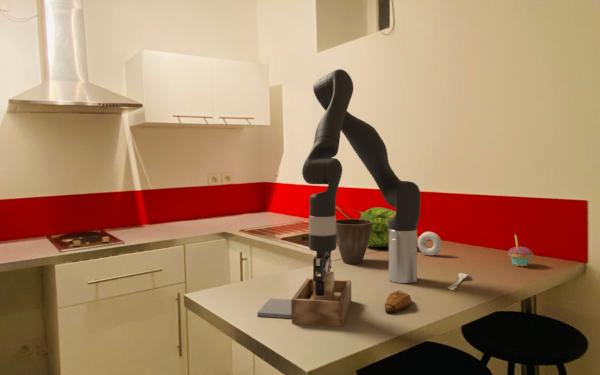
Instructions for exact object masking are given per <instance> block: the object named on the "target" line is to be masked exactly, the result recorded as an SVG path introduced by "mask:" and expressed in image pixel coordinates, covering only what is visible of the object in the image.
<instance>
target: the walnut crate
mask: <svg viewBox="0 0 600 375" xmlns="http://www.w3.org/2000/svg"><path fill="white" fill-rule="evenodd" d="M290 300H291V311H292V317H291V324H302V325H303V324H305V325H317V326H332V327H334V326H335V327H344V324H345V321H346V318H347V315H348V312H349V310H350V306H351V303H352V280H349V279H348V280H347V279H334V299H333V301H329V300H313V278H306V280H305V281H304V282H303V283H302V284H301V286H300V287H299V289H298V290H297V292H296V293H294V295H293V297H292V298H291V299H290Z"/></svg>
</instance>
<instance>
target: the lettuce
mask: <svg viewBox="0 0 600 375" xmlns="http://www.w3.org/2000/svg"><path fill="white" fill-rule="evenodd" d="M395 215H396V210H393V209H389V208H385V207H381V206H379V207H376V206H375V207H371V208H369V209H367V210H365V211H364V212H363V213H362V214H361V216H360V218H359V219H362V220H369V221H371V222H372V227H371V233H370V238H369V242H368V246H370V247H373V248H389V221H390V220H391V219H393V218H394V217H395Z"/></svg>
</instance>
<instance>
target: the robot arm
mask: <svg viewBox="0 0 600 375" xmlns="http://www.w3.org/2000/svg"><path fill="white" fill-rule="evenodd" d="M312 88H313V89H312V90H313V93H314V97H315V98H316V99H317V101H318V103H319V104H320V106H321V107H322V108H323V110H324V111H325V112H324V114H323V115H322V116H321V119H320V120H319V122H318V125H317V127H316V130H315V136H314V139H313V140H314V141H313V146H312V148H311V150H310V152H309V153H308V155H307V157H306V158H305V161H304V163H303V166H302V169H301V171H302V172H301V174H302V178H303V180H304V182H306V184H309V185H327V188H326V190H324V191H321V192H317V193H313V194H311V195H310V196H309V216H308V218H309V220H308V249H309V250H310V251H312V252H316V256H314V257H313V260H312V262H313V265H312V266H313V269H312V270H313V274H312V275H313V276H312V279H313V281H315V282H316V295H317V296H323V295H324V281H325V275H326V274H327V272H331V270H332V252H334V251H335V250H336V249H337V248H338V244H337V240H336V220H337V218H336V217H337V216H336V215H337V214H336V211H337V210H336V207H337V206H336V201H337V195H338V194H337V193H338V187H339V185H340V181H341V177H342V175H343V166H342V163H341V161H340V160H339V159H338V158H335V157H336V156H337V154H338V153H339V148H340V139H341V133H342V134H343V135H344V136H345V138H346V140H347V141H348V143H349V144H350V146H351V147H352V149H353V151H354V152H355V153H356V155H357V156H358V158H359V159H360V161H361V162H362V163H363V165H364V167H365V168H366V170H367V171H368V172H369V174H370V175H371V177H372V179H373V180H374V182H375V183H376V186H377V187H378V189H379V191H380V194H381V195H382V197H383V199H384V201H385V202H386V204H388V205H389V206H390V207H393V208H395V212H396V215H395V217H394V218H393V219H391V220H390V221H389V246H388V271H387V272H388V273H387V274H388V281H390V282H393V283H399V284H410V283H411V284H412V283H417V282H418V250H417V249H418V239H417V238H418V234H417V233H418V224H419V221H420V217H421V214H420V213H421V199H422V198H421V197H422V196H421V190H420V188H419V185H417V183H415V182H413V181H410V180H409V181H408V180H401V179H400V178H399V177H398V176H397V175H396V173H395V172H394V170H393V169H392V166H391V165H390V162H389V156H388V150H387V147H386V144H385V142H384V140H383V138H382V137H381V135H380V134H379V133H378V131H377V130H376V128H374V126H372V125H371V124H369V123H368V122H367V121H364V120H362V119H360V118H358V117H356V116H354V115H352V114H351V113H350V112H348V108H349V104H350V102H351V99H352V96H353V94H354V93H353V92H354V81H353V80H352V77H351V75H350V74H349V73H348V72H347V71H346V70H344V69H335V70H333V71H331V72H329V73H328V74H326V75H324V76H323V77H321V78H319V79H318V80H316V81H315V82H314V83H313V86H312ZM318 274H321V277H318Z"/></svg>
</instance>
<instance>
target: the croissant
mask: <svg viewBox="0 0 600 375" xmlns="http://www.w3.org/2000/svg"><path fill="white" fill-rule="evenodd" d="M411 303H412V298H411V295H410V294H408V293H405V292H403V291H401V290H395V291H392V292H391V293H389V295H388V296H387V298H386V300H385V303H384V310H385V313H387V314H393V313H397V312H400V311H402V310H405V309H407V308H408V307H409V305H411Z"/></svg>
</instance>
